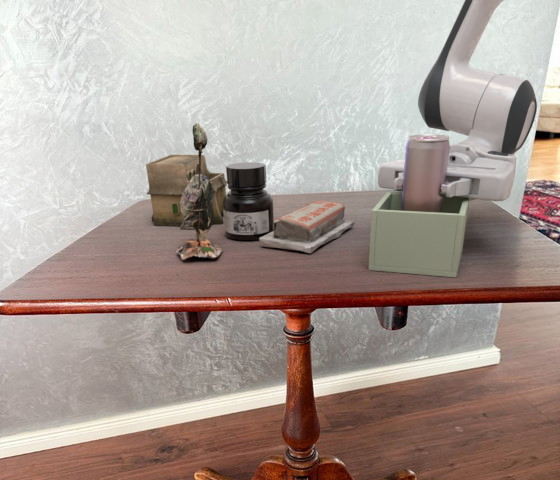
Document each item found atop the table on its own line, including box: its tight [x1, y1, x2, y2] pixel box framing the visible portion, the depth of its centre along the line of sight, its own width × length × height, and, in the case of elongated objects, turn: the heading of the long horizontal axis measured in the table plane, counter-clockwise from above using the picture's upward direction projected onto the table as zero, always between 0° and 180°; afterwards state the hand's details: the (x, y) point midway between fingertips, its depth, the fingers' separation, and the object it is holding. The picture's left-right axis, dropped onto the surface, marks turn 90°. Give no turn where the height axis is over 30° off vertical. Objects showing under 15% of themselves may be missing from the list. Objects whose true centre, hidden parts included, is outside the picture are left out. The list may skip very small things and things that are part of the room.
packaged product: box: [258, 200, 356, 254], centre depth 95 cm, size 18×5×10 cm
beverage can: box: [401, 133, 451, 213], centre depth 79 cm, size 6×6×15 cm
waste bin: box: [368, 191, 470, 279], centre depth 82 cm, size 13×13×9 cm
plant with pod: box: [175, 122, 224, 260], centre depth 86 cm, size 8×11×20 cm
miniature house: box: [145, 154, 228, 231], centre depth 107 cm, size 15×14×11 cm
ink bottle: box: [223, 161, 275, 241], centre depth 96 cm, size 10×9×12 cm
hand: (421, 188), depth 78 cm, fingers closed on beverage can, 6 cm apart
